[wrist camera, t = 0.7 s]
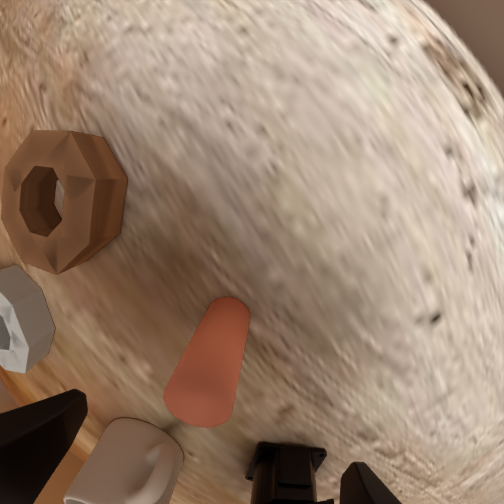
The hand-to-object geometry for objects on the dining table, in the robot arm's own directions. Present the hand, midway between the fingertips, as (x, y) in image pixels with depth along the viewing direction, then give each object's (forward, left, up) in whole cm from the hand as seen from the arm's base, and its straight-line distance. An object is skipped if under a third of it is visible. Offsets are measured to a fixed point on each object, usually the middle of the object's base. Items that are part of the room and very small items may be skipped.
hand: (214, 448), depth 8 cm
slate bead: (-7, +21, -12) cm, 26 cm away
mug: (-17, +6, -13) cm, 22 cm away
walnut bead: (+5, +14, -12) cm, 19 cm away
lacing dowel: (-1, +1, -12) cm, 13 cm away
